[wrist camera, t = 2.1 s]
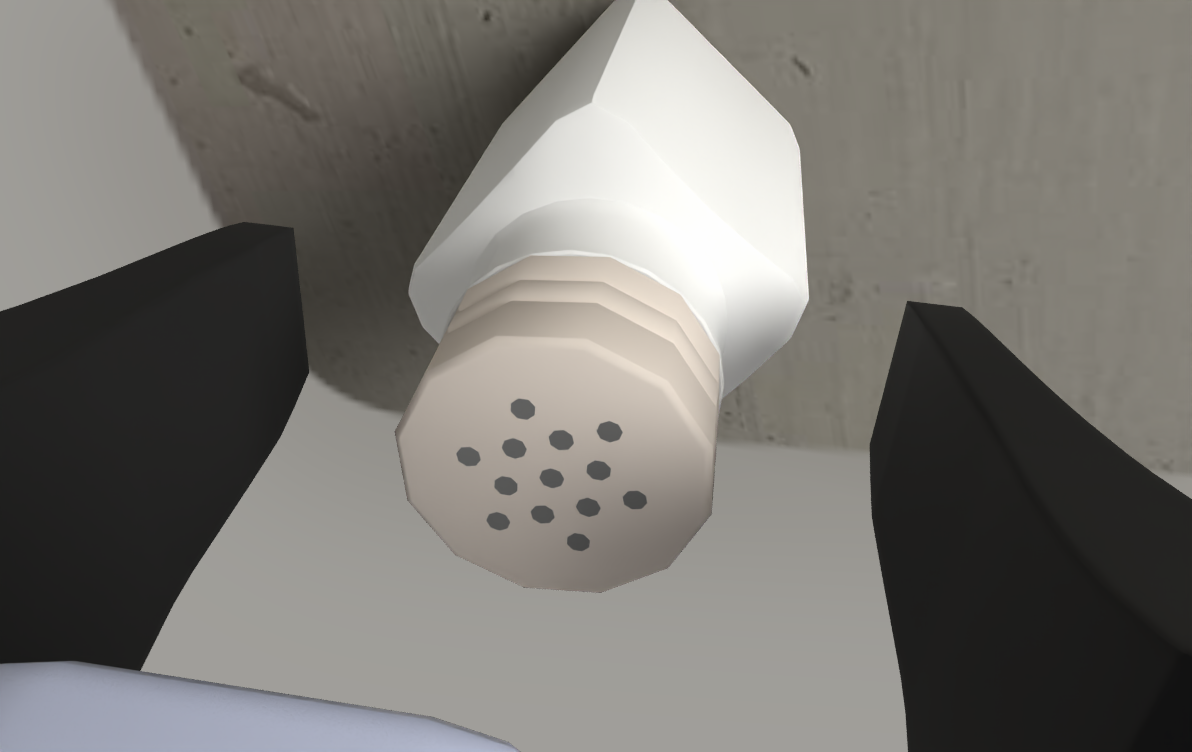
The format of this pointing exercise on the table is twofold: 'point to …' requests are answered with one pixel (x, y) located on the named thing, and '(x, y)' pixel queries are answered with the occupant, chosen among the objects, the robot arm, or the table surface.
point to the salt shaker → (602, 307)
